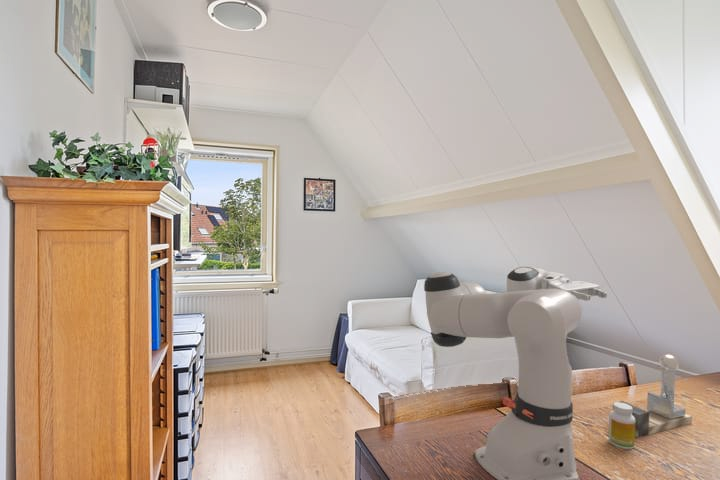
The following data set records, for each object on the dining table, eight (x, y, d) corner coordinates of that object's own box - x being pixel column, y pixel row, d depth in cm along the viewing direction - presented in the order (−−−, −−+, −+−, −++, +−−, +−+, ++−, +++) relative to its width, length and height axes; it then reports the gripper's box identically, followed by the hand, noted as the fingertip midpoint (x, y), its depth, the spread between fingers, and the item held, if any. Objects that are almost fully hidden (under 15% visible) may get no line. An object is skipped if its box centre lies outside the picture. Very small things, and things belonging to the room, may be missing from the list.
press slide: (669, 419, 107) (672, 359, 107) (646, 409, 113) (649, 352, 112) (685, 415, 110) (688, 356, 109) (662, 406, 115) (664, 350, 115)
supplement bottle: (638, 451, 96) (640, 411, 96) (613, 448, 97) (615, 409, 97) (628, 439, 101) (629, 402, 101) (604, 436, 102) (606, 399, 102)
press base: (638, 437, 102) (639, 414, 102) (612, 424, 109) (612, 403, 108) (691, 423, 110) (692, 402, 110) (664, 411, 117) (665, 391, 116)
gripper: (574, 292, 144) (613, 303, 132) (537, 297, 134) (577, 309, 122) (576, 275, 143) (616, 284, 131) (540, 278, 133) (580, 289, 121)
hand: (597, 296), depth 126 cm, fingers open, 8 cm apart
